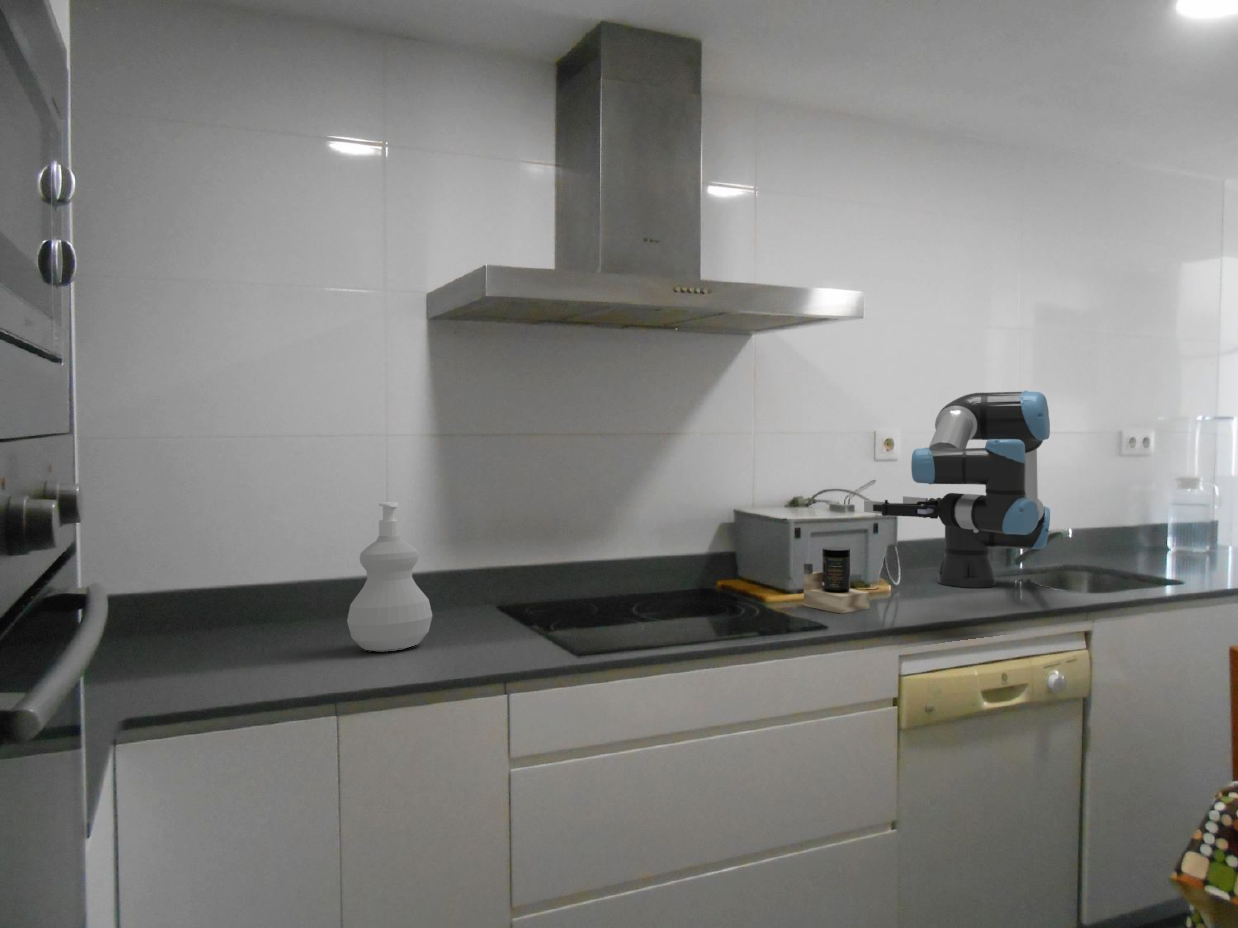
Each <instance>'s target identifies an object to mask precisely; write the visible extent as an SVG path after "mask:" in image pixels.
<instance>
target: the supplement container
mask: <svg viewBox="0 0 1238 928" xmlns="http://www.w3.org/2000/svg"><path fill="white" fill-rule="evenodd" d="M821 555H822V556H821V559H822V560H821V565H822V566H821V571H822V588H823V590H824V591H826V592H830V593H846V592H848V591H849V590H850V589H851V548H850V547H845V546H824V547H822V548H821Z"/></svg>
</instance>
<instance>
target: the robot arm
mask: <svg viewBox="0 0 1238 928" xmlns="http://www.w3.org/2000/svg"><path fill="white" fill-rule="evenodd" d="M1049 415H1050V414H1049V405H1048V400H1047V398H1046V396H1045V394H1043V392H1039V391H1028V390H1023V391H1001V392H1000V391H997V392H973V393H969V394H965V395H962V396H960V397H958V398H956V399H953V400H952V401H950V402H948V404H946V405H945V406H943V407H942V408H941V410H940V411H939V412H938V413H937V416H936V418H935V421H934V422H935V423H934V428H935V432H934V434H933V437H932V438H931V441H930V442H929V446H928V447H924V448H923V447H922V448H916V449H914V450H913V452H912V454H911V461H910V465H911V466H910V467H911V477H912V480H913V482H915V483H916V484H926V485H927V484H928V485H981V486H982V485H983V486H985V491H984V492H985V493H986V494H975V493H974V494H973V493H959V492H958V493H957V492H956V493H955V492H949V493H947V494H945V495H944V496H943V497H936V498H933V497H931V498H929V499H928V497H922V496H921V497H920V496H918V497H917V496H906V495H905V496H904V495H903V496H902V502H901V503H897V502H893V503H892V502H889V500H888V499H884V501H879V500H871V499H870V500H869V499H864V500H863V512H864V513H872V514H878V515H879V514H881V516H883V517H886V516H888V517H889V516H891V517H909V518H911V517H914V518H923V519H926V518H930V519H932V520H933V519H934V520H935V519H938V518H939V520H940V522H941V523H942V524H943V525H944V556H943V559H942V562H941V565H940V567H939V571H938V574H937V582H938V583H939V584H941V585H944V586H949V587H950V586H951V587H959V588H975V589H976V588H977V589H978V588H990V587H995V586H996V584H997V583H996V582H997V578H996V575H995V571H994V567H993V565H992V562H991V558H990V548H997V549H998V548H999V549H1000V548H1001V549H1015V550H1016V549H1017V550H1028V551H1031V550H1041V549H1043V548H1045V547H1046V545H1047V543H1048V538H1049V532H1050V531H1049V529H1050V524H1051V523H1050V522H1051V509H1050V508H1049V507H1048V506H1044V504H1043V502H1042V501H1041V499H1039V498H1038V494H1039V493H1038V491H1039V490H1038V452H1037V451H1038V449H1039V448H1040V447H1041V445H1042V444H1043V442H1044V441H1045V440H1048V439H1049V438H1050V434H1051V424H1050V416H1049ZM971 440H972V441H973V440H974V441H977V440H978V441H980V440H982V441H985V446H984V447H975V448H974V447H971V448H967V445H968V443H969V441H971Z"/></svg>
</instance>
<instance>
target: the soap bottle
mask: <svg viewBox="0 0 1238 928" xmlns="http://www.w3.org/2000/svg"><path fill="white" fill-rule="evenodd" d="M378 506H379V507H382V519H379V520H378V536H377V538H376V540H375V541H373V542H372V543H371V544H369V545H368V546H367V547H365V549H364V550H362V551H361V552H360V553H359V554H360V555H359V562H360V564H361V566H362V567H363V568H364V570H365V571H366V581H365V583H364V585H363V587H362V588H361V590H360V591H359V593H357V595H356V597H355V598H354V599H353V600H352V602H351V603H350V604H349V605H350V606H349V611H348V614H347V619H346V622H347V625H348V626H347V627H348V629H349V634H350V636H351V639H352V640H353V641H354V642H355V643H356V644H357V645H358V646H359V647H360V648H361V649H362V648H363V649H366V650H388V649H398V648H407V647H411V646H414V645H417V644H418V645H419V644H420V642H422V640H423V639H424V638H425V637H426V635H427V634H428V633H429V631H430V627H431V623H432V619H433V612H432V609H431V607H432V606H431V604H430V599H429V597H428V596H426V594H425V593H424V592H423V590H421V589H420V587H419V586H418V585H417V583H416V582H415V580H414V578H413V569H414V568H415V566H416V565H417V563H418V561H419V558H420V557H419V556H420V555H419V551H418V549H416V548H415V547H414V546H413V545H411V544H410V543H408V542H406V541H405V540H403V538H402V537H401V535H400V525H399V524H400V520H399V519H395V518H396V517H395V516H396V515H395V513H396V512H395V511H396V510H395V509H397V508H398V506H399V503H398V502H396V501H385V502H383V501H381V502H379V504H378ZM418 645H417V646H418ZM414 647H415V646H414ZM366 650H365V651H366Z"/></svg>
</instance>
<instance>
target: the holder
mask: <svg viewBox="0 0 1238 928" xmlns="http://www.w3.org/2000/svg"><path fill="white" fill-rule="evenodd" d="M813 566H814V565H813V563H810V562H807V563H803V606H804V607H808V608H813V609H818V610H823V611H827V612H833V613H837V614H845V613H847V614H848V613H853V612H857V611H864V610H869V609H870V593H871V592H869V591H866V590H865V591H864V590H861V589H855V588H850V590H849V591H848V592H846V593H830V592H826V591H824V590H823V588H822V570H819V571H813V568H814V567H813Z"/></svg>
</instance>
